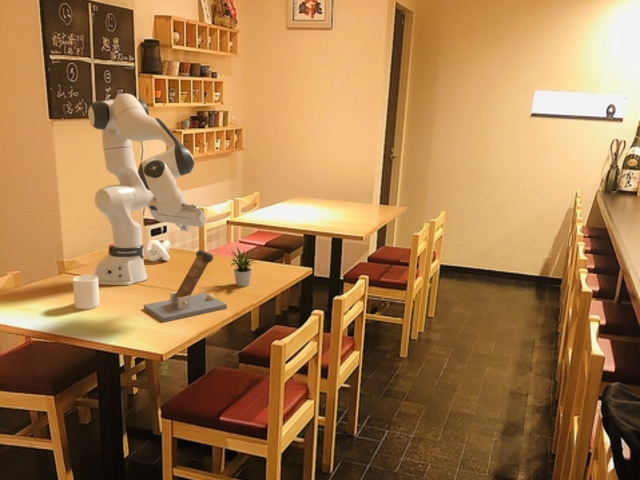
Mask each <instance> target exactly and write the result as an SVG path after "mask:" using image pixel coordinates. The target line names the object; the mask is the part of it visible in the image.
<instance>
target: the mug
mask: <svg viewBox="0 0 640 480" xmlns="http://www.w3.org/2000/svg"><path fill="white" fill-rule="evenodd" d="M99 285H100V284H98V277H97V276H95V275H93V274H83V275H78V276H75V277H73V278H72V287H73V289H72V291H73V302H74V307H75V308H76V309H78V310H81V309H83V310H85V311H86V310H92V309H96V308H98V307H99V306H100V289H99ZM83 310H82V311H83Z"/></svg>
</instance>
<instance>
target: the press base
mask: <svg viewBox="0 0 640 480" xmlns="http://www.w3.org/2000/svg"><path fill="white" fill-rule="evenodd" d="M176 293H177V291H174V292H171V293H169V296H170V297H169V298H170V299H167V300H161V301H156V302H151V303H146V304H143V309H144V310H145V311H147V312H148V313H150V314H151V315H153V317H155V318H157V319H159V320H160V321H162V323H166V322H171V321H175V320H179V319H184V318H189V317H193V316H196V315H197V316H198V315H201V314H202V315H203V314H207V313H212V312H216V311H221V310H225V309H228V305H227V303H225V302H223V301H222V300H219V299H218V298H216V296H215V295H214V294H213V293H209V294H208V293H206V292H202V293H201V292H200V293H196V294H191V295H190V296H183V297H178V299H177V298H175V295H176Z"/></svg>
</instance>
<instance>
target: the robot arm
mask: <svg viewBox="0 0 640 480" xmlns="http://www.w3.org/2000/svg"><path fill="white" fill-rule="evenodd" d="M87 114H88V115H87V116H88V119H89V121H90V124H91V126H92V127H93V128H94V129H97V130H100V131H101V133H102V136H101V139H102V149H103V155H104V161H105V168H106V171H108V172H109V173H110V174H112V175H114V176H115V178H116V179H118V182H119V183H118V184H112V185H107V186H104V187H102V188H100V189H98V190H97V191H96V193H95V194H94V203H95V204H94V205H95V206H96V208H97V209H98V210H99V211H100V212H101V213H103V215H105V217H107V219H108V221H109V223H110V225H111V230H112V240H113V243H110V244H109V245H108V250H107V251H108V255H107V256H105V257H104V258H103V259H101V260H100V261H99V262H98V263H97V264H96V266H95V270H94V273H93V274H92V275H95V276H97V277H98V285H105V286H107V285H109V286H113V285H114V286H129V285H132V284H135V283H140V282H143V281H145V280H147V279H148V275H147V271H146V270H147V269H146V267H145V263H144V262H145V261H144V258H145V253H144V250H145V247H144V244H143V235H142V231H143V230H142V225H141V224H140V223H139V222H137V221H136V220H134V219H133V218H132V214H131V212H132V211H138V210H142V209H146V208H148V210H149V212H150V214H151V216H152V217H153V219H154V220H155V221H157V222H163V223H170V224H174V225H175V226H177V227H178V228H179V229H180V231H182V232H190V230H191V227H197V228H203V227H204V226H205V224H206V223H207V220H208V218H207V217H206V214H205V213H204V212H203V210H202V209H201V208H200V207H199V206H198V205H195V204H189V203H187V201H186V198H185V197H184V195H183V192H182V190H181V189H180V188H179V186H178V182H177V180H176V179H177V178H179V177H182V176H185V175H188V174H191V173H192V171H193V169H194V167H195V159H194V157H193V155H192V153H191V151H190V150H189V149H188V148H186V146H185V145H183V143H181V141H180V139H178V138H177V137H176V136H175V134H174V133H173V132H172V131H171V130H170V128H168V126H167V125H166V124H165V123H164V121H162V120H161V119H160V118H157V117H153V116H150V111H149V107H148V104H146V102H145V101H144V100H142V99H138V98H136V96H134V95H133V94H130V93H122V94H121V93H120V94H119V95H117V96H116V97H115V98H113V99H108V100H97V101H93V102H92V103H91V104H90V105H89V107H88V113H87ZM153 140H154V141H155V140H158V141H162V142H163V143H164V144H165V146H167V148H168V149H167V150H165V151H162V152H161V153H158V154H156V155H153V156H151V157H148V158H146V159H144V160H142V161H141V162H140V163H139V166H138V167H137V165H136V158H135V154H134V153H135V152H134V147H133V143H132V141H133V142H140V143H141V142H146V141H153Z"/></svg>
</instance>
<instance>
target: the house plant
mask: <svg viewBox="0 0 640 480" xmlns="http://www.w3.org/2000/svg"><path fill="white" fill-rule="evenodd" d="M244 247H246V245H244ZM227 248H228V249H230V250H231V251H227V250H226V252H225V253H226V254H228V255H231V256H232V255H233V256H232V258H233V259H231V261H232V262H231V264H230V268H231V267H232V266H235V265H236V268H234V269H233V273H234V279H235V285H236V286H237V287H248V286H250V281H251V277H252V268H250V267H251V265H252V264H255V263H256V261H257V259H251V257H252V256H253V255H254V254H255V253H257V252H258V249H256V250H254V251H253V252H251V253H250V251H251V250H250V249H251V248H249V249H248V251H247V253H246V256H245V257H244V254H245V251H246V249H245V248H243V251H242V253H241V250H240V249H239V247H238V246H236V247H235V248H236V250H237V253H238V254H236V252H235V250H234V249H233V248H232V247H229V246H227ZM227 252H228V253H227ZM229 252H230V253H229ZM250 259H251V260H250Z"/></svg>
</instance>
